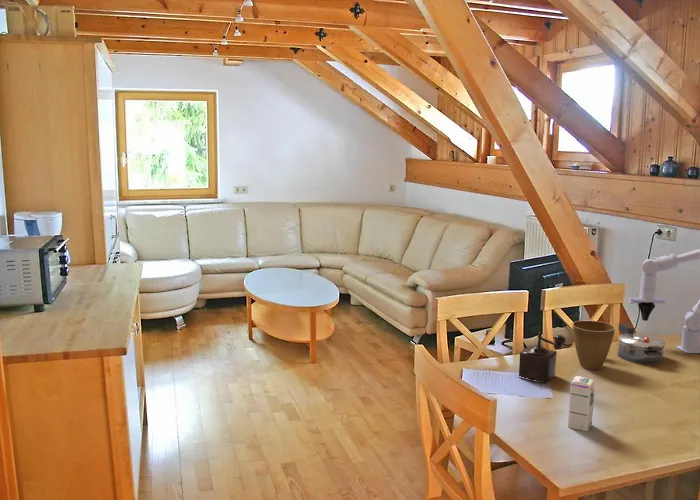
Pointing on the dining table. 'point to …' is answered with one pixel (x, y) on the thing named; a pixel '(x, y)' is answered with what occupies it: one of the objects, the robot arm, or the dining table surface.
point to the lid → (639, 339)
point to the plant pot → (592, 342)
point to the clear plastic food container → (639, 354)
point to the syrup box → (581, 403)
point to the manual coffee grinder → (540, 360)
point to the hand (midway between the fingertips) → (644, 320)
